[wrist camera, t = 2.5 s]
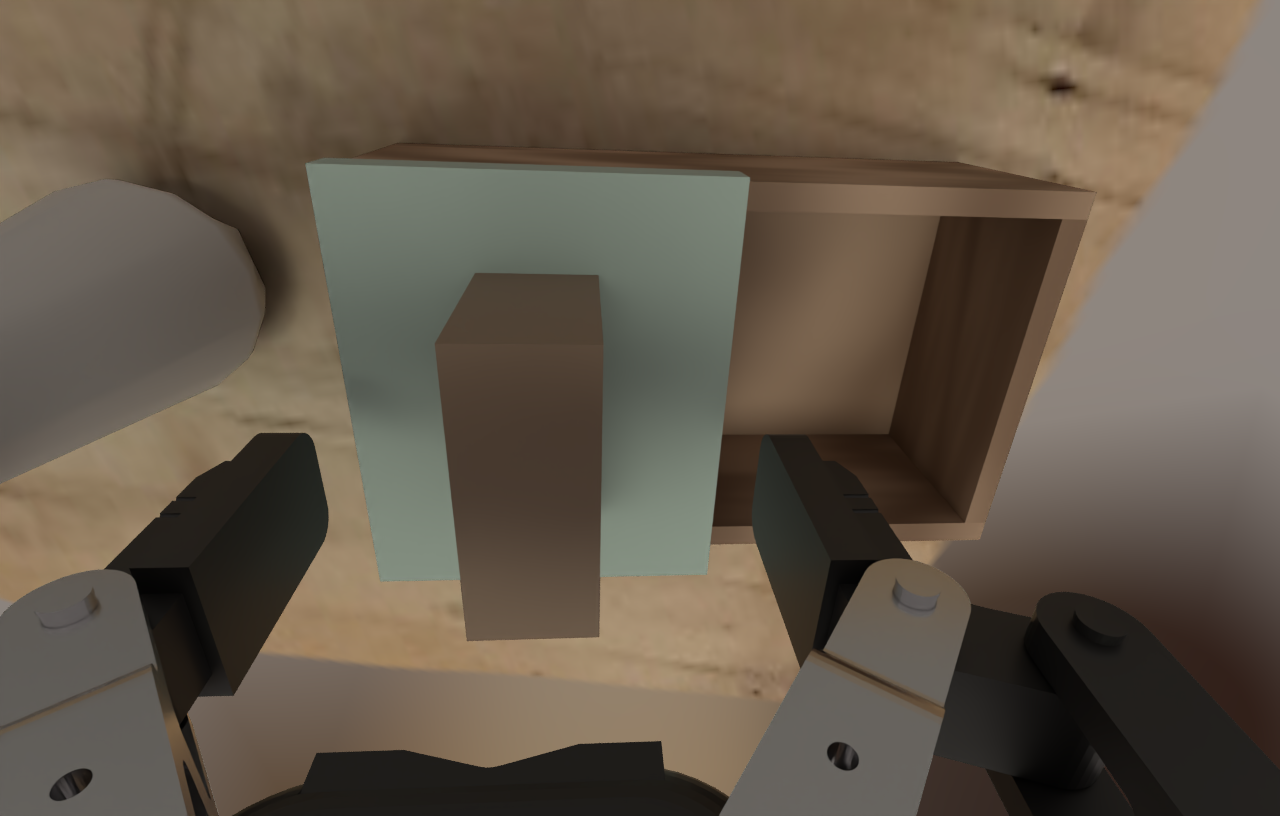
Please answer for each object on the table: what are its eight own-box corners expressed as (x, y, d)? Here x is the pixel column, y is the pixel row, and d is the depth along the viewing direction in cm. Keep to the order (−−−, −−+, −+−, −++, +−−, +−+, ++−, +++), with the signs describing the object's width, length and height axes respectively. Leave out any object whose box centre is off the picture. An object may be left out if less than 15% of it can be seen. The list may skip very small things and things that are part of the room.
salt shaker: (101, 129, 18) (-819, 223, 6) (315, 226, 19) (-95, 448, 8) (71, 314, 20) (-651, 642, 8) (266, 388, 21) (-113, 752, 10)
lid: (390, 555, 17) (324, 719, 13) (324, 157, 13) (187, 197, 8) (700, 550, 18) (738, 702, 14) (739, 171, 14) (814, 214, 9)
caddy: (433, 439, 23) (386, 549, 17) (398, 143, 18) (321, 167, 13) (891, 437, 24) (979, 539, 19) (958, 162, 20) (1096, 192, 14)
